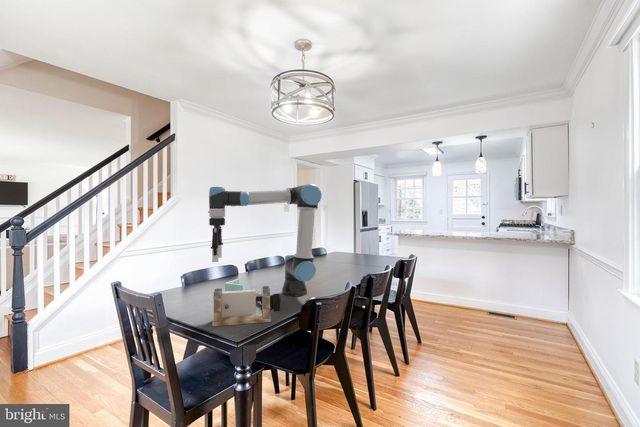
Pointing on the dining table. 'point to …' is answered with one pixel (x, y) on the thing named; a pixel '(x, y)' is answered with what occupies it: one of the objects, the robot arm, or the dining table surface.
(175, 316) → the dining table surface
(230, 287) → the right angle wall
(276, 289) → the dining table surface
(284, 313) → the dining table surface
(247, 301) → the cabinet door
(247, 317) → the hinge frame
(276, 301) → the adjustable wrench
